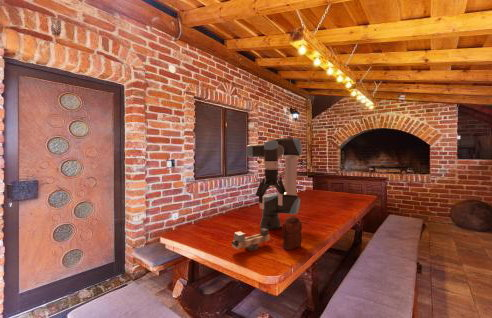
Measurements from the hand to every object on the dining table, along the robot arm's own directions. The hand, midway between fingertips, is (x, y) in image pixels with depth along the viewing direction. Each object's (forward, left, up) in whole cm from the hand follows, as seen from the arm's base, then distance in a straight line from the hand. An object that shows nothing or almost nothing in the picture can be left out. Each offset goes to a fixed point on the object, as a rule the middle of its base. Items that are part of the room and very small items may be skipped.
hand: (271, 207), depth 140 cm
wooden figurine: (+3, +13, -25) cm, 28 cm away
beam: (-9, -7, -25) cm, 27 cm away
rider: (-9, -15, -20) cm, 26 cm away
